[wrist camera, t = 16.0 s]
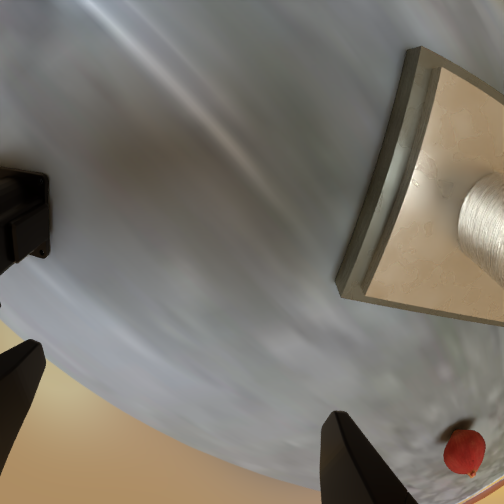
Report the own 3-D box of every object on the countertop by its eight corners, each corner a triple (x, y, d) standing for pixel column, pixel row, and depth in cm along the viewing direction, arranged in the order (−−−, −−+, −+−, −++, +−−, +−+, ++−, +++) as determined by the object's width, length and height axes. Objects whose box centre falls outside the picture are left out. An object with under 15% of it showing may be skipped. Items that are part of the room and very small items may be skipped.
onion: (481, 414, 30) (503, 459, 23) (460, 439, 32) (477, 481, 25) (450, 420, 30) (470, 470, 23) (429, 445, 32) (445, 492, 25)
